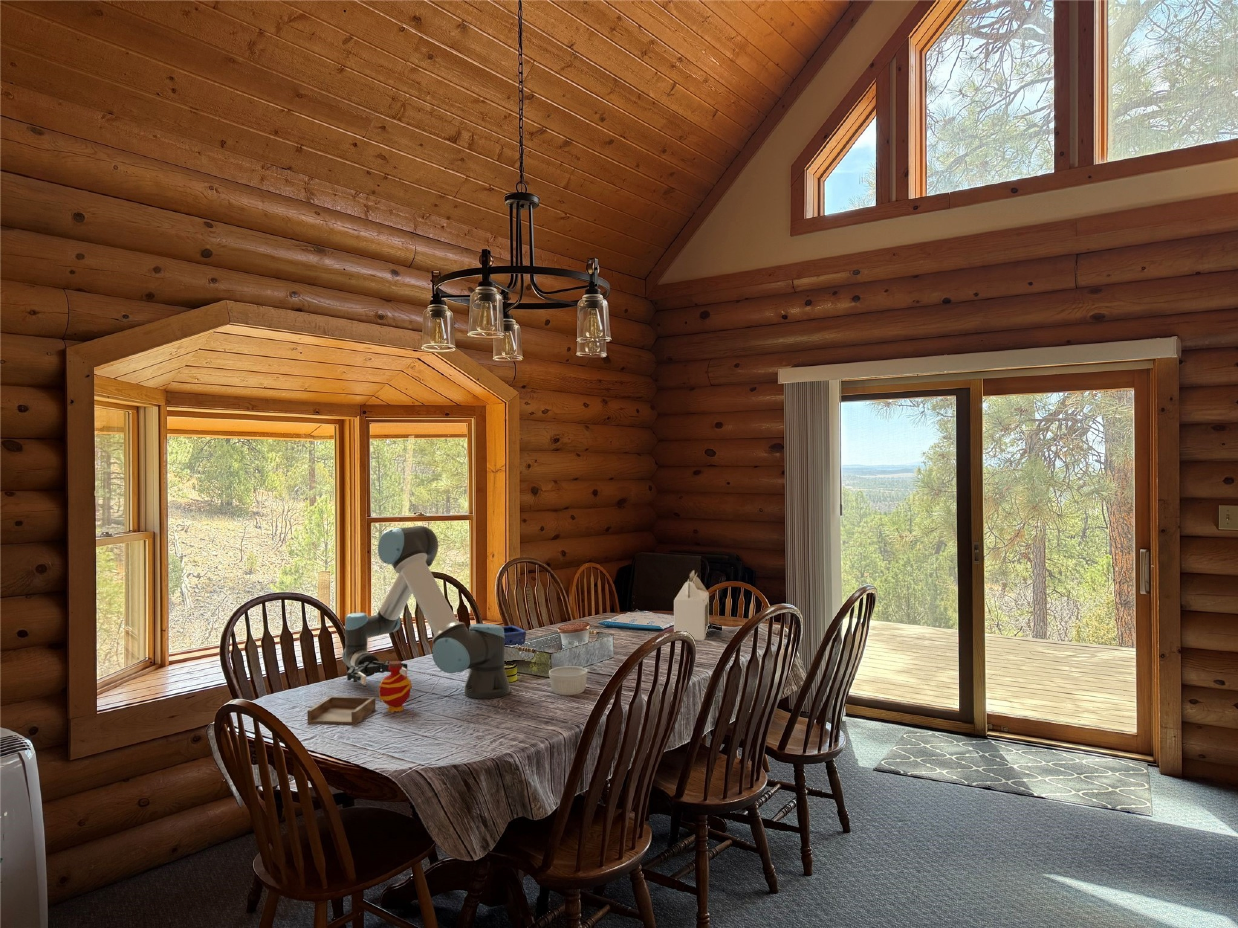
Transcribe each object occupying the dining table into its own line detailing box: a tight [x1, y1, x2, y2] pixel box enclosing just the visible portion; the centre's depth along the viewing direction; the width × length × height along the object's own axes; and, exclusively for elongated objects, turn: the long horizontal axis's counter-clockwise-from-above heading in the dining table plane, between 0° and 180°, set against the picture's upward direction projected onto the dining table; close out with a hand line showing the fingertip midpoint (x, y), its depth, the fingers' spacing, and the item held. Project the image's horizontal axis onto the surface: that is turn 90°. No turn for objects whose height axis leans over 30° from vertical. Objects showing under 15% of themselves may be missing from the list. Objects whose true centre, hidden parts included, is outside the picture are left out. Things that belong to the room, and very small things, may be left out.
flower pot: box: [502, 625, 527, 647], centre depth 325 cm, size 13×13×12 cm
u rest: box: [306, 695, 376, 726], centre depth 254 cm, size 15×15×4 cm
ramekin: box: [548, 665, 588, 696], centre depth 282 cm, size 13×13×7 cm
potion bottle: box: [378, 660, 413, 713], centre depth 261 cm, size 10×10×15 cm
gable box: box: [673, 569, 710, 641], centre depth 370 cm, size 22×13×28 cm, turn 168°
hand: (385, 676), depth 268 cm, fingers open, 13 cm apart
